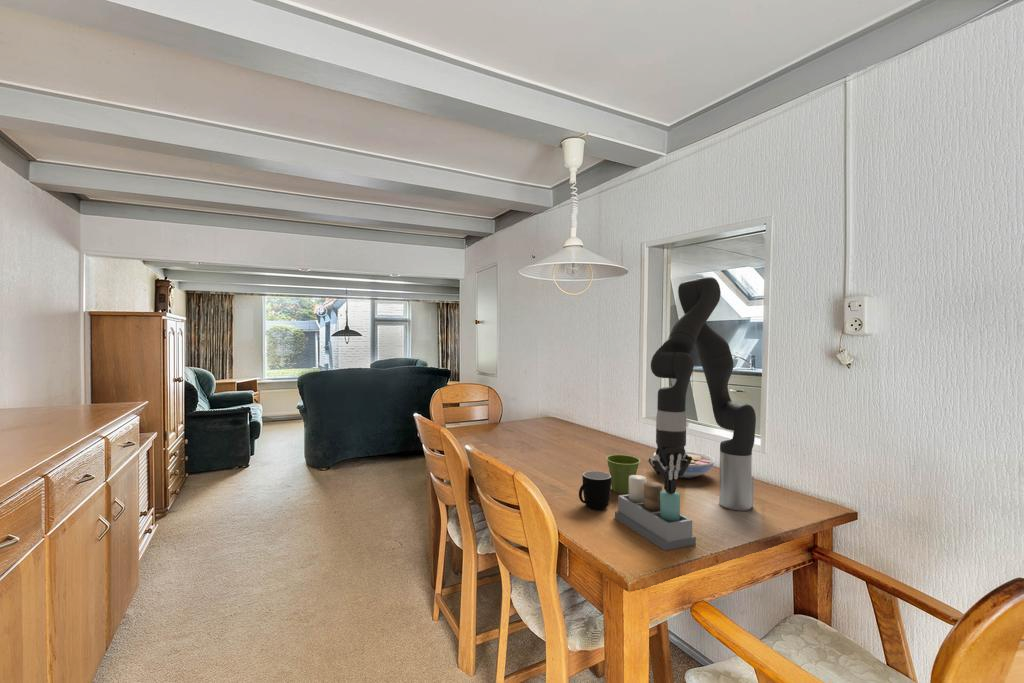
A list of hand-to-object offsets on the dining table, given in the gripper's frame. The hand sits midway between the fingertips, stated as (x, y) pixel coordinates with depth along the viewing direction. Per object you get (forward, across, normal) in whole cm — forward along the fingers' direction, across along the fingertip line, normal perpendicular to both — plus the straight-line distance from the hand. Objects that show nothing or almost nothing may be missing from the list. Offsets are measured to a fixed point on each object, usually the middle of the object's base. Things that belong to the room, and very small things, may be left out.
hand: (670, 492), depth 119 cm
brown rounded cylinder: (+7, 0, -7) cm, 10 cm away
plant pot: (+13, -11, -37) cm, 41 cm away
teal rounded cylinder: (+7, 0, 0) cm, 7 cm away
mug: (+13, +7, -27) cm, 31 cm away
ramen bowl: (+13, -44, -44) cm, 64 cm away
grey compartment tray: (+13, 0, -7) cm, 15 cm away
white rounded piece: (+7, 0, -14) cm, 16 cm away
